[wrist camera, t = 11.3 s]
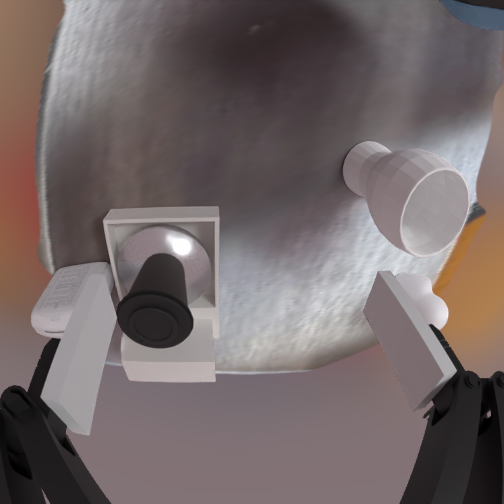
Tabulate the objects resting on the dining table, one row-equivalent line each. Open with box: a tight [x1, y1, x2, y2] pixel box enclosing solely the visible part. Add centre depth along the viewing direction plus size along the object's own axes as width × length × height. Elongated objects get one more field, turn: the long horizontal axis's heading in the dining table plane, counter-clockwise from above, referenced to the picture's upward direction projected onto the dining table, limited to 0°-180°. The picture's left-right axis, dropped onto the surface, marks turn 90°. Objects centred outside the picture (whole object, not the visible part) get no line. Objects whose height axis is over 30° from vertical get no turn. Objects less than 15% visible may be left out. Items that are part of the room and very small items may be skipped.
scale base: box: [103, 206, 219, 382], centre depth 36 cm, size 21×14×11 cm
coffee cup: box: [116, 253, 194, 349], centre depth 31 cm, size 8×8×10 cm
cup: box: [343, 141, 470, 258], centre depth 30 cm, size 11×11×15 cm
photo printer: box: [31, 262, 115, 338], centre depth 33 cm, size 10×4×12 cm, turn 95°
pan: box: [117, 224, 211, 304], centre depth 37 cm, size 12×12×3 cm
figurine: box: [395, 272, 448, 330], centre depth 43 cm, size 7×8×12 cm
